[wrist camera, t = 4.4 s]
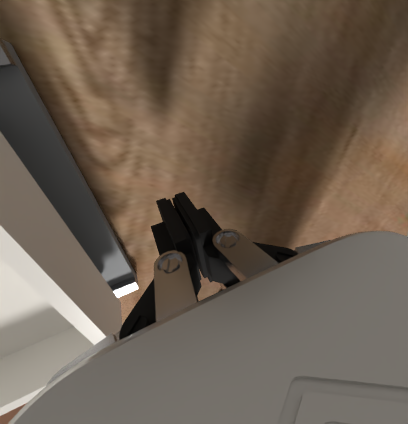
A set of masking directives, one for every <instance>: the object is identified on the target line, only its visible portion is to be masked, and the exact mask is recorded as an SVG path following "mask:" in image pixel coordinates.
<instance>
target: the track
mask: <svg viewBox="0 0 408 424" xmlns="http://www.w3.org/2000/svg"><path fill="white" fill-rule="evenodd" d="M0 132H1V133H2V134H3V136H4V137H5V139H6V140H7V141H8V143H9V144H10V146H11V147H12V149H13V150H14V151H15V153H16V154H17V156H18V157H19V159H20V160H21V161H22V163H23V164H24V166H25V167H26V168H27V170H28V171H29V173H30V174H31V176H32V177H33V178H34V180H35V181H36V183H37V184H38V186H39V187H40V188H41V190H42V191H43V193H44V194H45V195H46V197H47V198H48V200H49V201H50V203H51V204H52V205H53V207H54V208H55V210H56V211H57V213H58V214H59V215H60V217H61V218H62V220H63V221H64V222H65V224H66V225H67V227H68V228H69V230H70V231H71V232H72V234H73V235H74V237H75V238H76V240H77V241H78V242H79V244H80V245H81V247H82V248H83V249H84V251H85V252H86V254H87V255H88V257H89V258H90V259H91V261H92V262H93V264H94V265H95V266H96V268H97V269H98V271H99V272H100V274H101V275H102V276H103V278H104V279H105V281H106V282H107V284H108V285H109V286H110V288H111V289H112V291H113V292H114V293H115V295H116V296H117V298H118V297H120V296H122V295H125V294H127V293H129V292H132V291H134V290H136V289H139V287H138V281H137V275H136V273H135V271H134V269H133V267H132V266H131V264H130V262H129V260H128V258H127V256H126V255H125V253H124V251H123V249H122V247H121V245H120V244H119V242H118V240H117V238H116V236H115V234H114V232H113V231H112V229H111V227H110V225H109V223H108V221H107V220H106V218H105V216H104V214H103V212H102V210H101V209H100V207H99V205H98V203H97V201H96V199H95V197H94V196H93V194H92V192H91V190H90V188H89V186H88V185H87V183H86V181H85V179H84V177H83V175H82V174H81V172H80V170H79V168H78V166H77V164H76V163H75V161H74V159H73V157H72V155H71V153H70V151H69V150H68V148H67V146H66V144H65V142H64V140H63V139H62V137H61V135H60V133H59V131H58V129H57V128H56V126H55V124H54V122H53V120H52V118H51V116H50V115H49V113H48V111H47V109H46V107H45V105H44V104H43V102H42V100H41V98H40V96H39V94H38V93H37V91H36V89H35V87H34V85H33V83H32V82H31V80H30V78H29V76H28V74H27V72H26V70H25V69H24V67H23V65H22V63H21V61H20V59H19V58H18V56H17V54H16V52H15V50H14V48H13V47H12V45H11V43H9V42H7V41H4V40H2V39H0Z"/></svg>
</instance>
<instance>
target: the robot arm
mask: <svg viewBox="0 0 408 424" xmlns="http://www.w3.org/2000/svg"><path fill="white" fill-rule="evenodd" d="M172 200H173V204H174V206H173V204H172V202H171V201H170V199H168V200H166V198H164V199H161V200H157V201H156V202H157V205H158V208H159V211H160V214H161V217H162V220H163V222H162V223H159V224H156V225H153V226H151V229H152V232H153V235H154V238H155V242H156V245H157V248H158V251H159V255H160V256H159V257H158V258H157V259H156V261H155V263H154V279H153V280H152V282H151V283H150V285H149V286H148V288H147V289H146V291H145V292H144V294H143V295H142V297H141V298H140V300H139V301H138V302H137V304H136V305H135V307H134V308H133V310H132V311H131V313H130V314H129V316H128V317H127V319H126V320H125V322H124V323H123V325H122V327H121V329H120V331H119V332H117V333H116V334H113V333H111V334H110V335H108V336H107V337H105V338H104V339H103V340H101V341H100V342H98V343H97V344H95V345H94V346H93V347H91V348H90V349H88V350H87V351H85V352H84V353H83V354H81V355H80V356H78V357H77V358H75V359H74V360H73V361H71V362H70V363H68V364H67V365H66V366H64V367H63V368H61V369H60V370H59V371H58V372H57V373H56V374H54V375H53V377H52V378H51V379H50V381H49V382H48V383H47V385H46V387H45V388H44V389H42V390H41V391H40V392H39V393H38V394H37V395H36V396H34V397H33V398H32V399H31V400H30V401H29V402H28V403H27V404H26V405H25V406H24V407H23V408H22V409H21V410H20V411H19V412H18V413H17V414H16V415H15V416H14V417H13V418H12V419H11V421H10V422H9V423H8V424H408V237H407V236H404V235H401V234H398V233H395V232H390V231H365V232H358V233H353V234H348V235H345V236H341V237H338V238H335V239H333V240H328V241H323V242H319V243H314V244H310V245H305V246H301V247H296V248H295V250H292V249H288V248H284V247H278V246H272V245H266V244H260V243H254V242H251V241H250V240H249V239H248V238H246V237H245V236H244V235H243V234H241V233H240V232H238V231H237V230H233V229H224V230H222V229H221V228H220V227H219V225H218V224H217V223H216V222H215V221H214V219H213V218H212V217H211V216H210V214H209V213H208V212H207V211H206V209H205V208H201V209H198V210H197V209H196V208H195V206H194V205H193V204H192V202H191V201H190V199H189V198H188V197H187V195H186V194H185V193H184V192H182V193H179V194H176V195H175V197H174V198H172ZM174 207H175V208H174ZM199 269H200V271H201V273H202V275H203V277H204V278H206V277H208V279H209V281H210V282H212V281H215V282H219V283H220V286H221V287H222V289H223V290H222V291H220V292H218V293H216V294H214V295H212V296H209V297H207V298H205V299H203V300H201V301H198V297H197V295H198V292H199V290H200V288H201V283H200V280H201V276H200V272H199Z"/></svg>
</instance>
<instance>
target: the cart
mask: <svg viewBox="0 0 408 424" xmlns="http://www.w3.org/2000/svg"><path fill="white" fill-rule="evenodd" d="M121 327H122V316H121V302H120V301H119V299H118V298H117V296H116V295H115V293H114V292H113V291H112V289H111V288H110V286H109V285H108V284H107V282H106V281H105V279H104V278H103V276H102V275H101V274H100V272H99V271H98V269H97V268H96V266H95V265H94V264H93V262H92V261H91V259H90V258H89V257H88V255H87V254H86V252H85V251H84V249H83V248H82V247H81V245H80V244H79V242H78V241H77V240H76V238H75V237H74V235H73V234H72V232H71V231H70V230H69V228H68V227H67V225H66V224H65V222H64V221H63V220H62V218H61V217H60V215H59V214H58V213H57V211H56V210H55V208H54V207H53V205H52V204H51V203H50V201H49V200H48V198H47V197H46V195H45V194H44V193H43V191H42V190H41V188H40V187H39V186H38V184H37V183H36V181H35V180H34V178H33V177H32V176H31V174H30V173H29V171H28V170H27V168H26V167H25V166H24V164H23V163H22V161H21V160H20V159H19V157H18V156H17V154H16V153H15V151H14V150H13V149H12V147H11V146H10V144H9V143H8V141H7V140H6V139H5V137H4V136H3V134H2V133H1V132H0V416H1V415H3V414H5V413H7V412H9V411H11V410H14V409H16V408H18V407H20V406H22V405H24V404H26V403H28V402H29V401H30V400H31V399H32V398H33V397H34V396H36V395H37V394H38V393H39V392H40V391H41V390H42V389H44V388H45V387H46V385H47V383H48V382H49V381H50V379H51V378H52V377H53V375H54V374H56V373H57V372H58V371H59V370H60V369H61V368H63V367H64V366H66V365H67V364H68V363H70V362H71V361H73V360H74V359H75V358H77V357H78V356H80V355H81V354H83V353H84V352H85V351H87V350H88V349H90V348H91V347H93V346H94V345H95V344H97V343H98V342H100V341H101V340H103V339H104V338H105V337H107V336H108V335H110V334H111V333H113V334H116V333H117V332H119V331H120V329H121Z"/></svg>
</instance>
